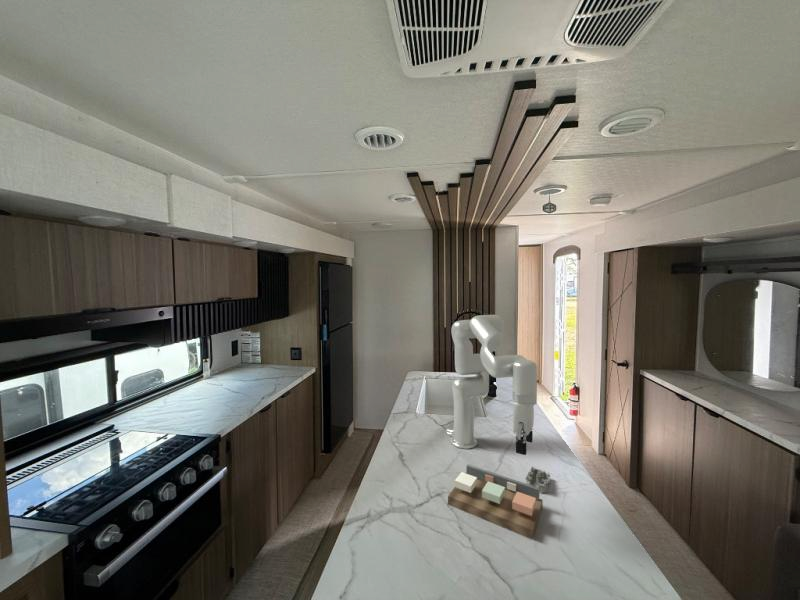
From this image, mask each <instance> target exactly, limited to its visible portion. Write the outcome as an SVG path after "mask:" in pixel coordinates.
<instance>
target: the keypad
mask: <svg viewBox="0 0 800 600" xmlns="http://www.w3.org/2000/svg"><path fill="white" fill-rule="evenodd" d="M465 473H466V474H469V475H471V476H474V477H477V484H476V486H475V487H474V489H473V490H472V492H471V493H469V492H467V491H464V490H462V489H459V488H456V487H455V486H454V487H453V488H452V490H451V491H450V492H449V494H448V496H447V505H449V506H451V507H454V508H457V509H459V510H461V511H463V512H466V513H467V514H471V515H472V516H475V517H478V518H480V519H483V520H485V521H487V522H490V523H491V524H494V525H496V526H499V527H501V528H505V529H506V528H507V530H509V531H512V532H513V531H514V533H516V534H518V535H520V536H523V537H525V536H526V538H528V539H530V540H533V538H534V535H535V532H536V530H537V525H538V524H539V523H538V522H539V520H540V517H541V513H542V509H543V504H544V503H543V499H541V498H540V493H539V490H540V488H538V487H534V486H531V485H532V484H531V485H528V484H527V483H525V482H522V481H519V480H516V479H513V478H510V477H507V476H504V475H501V474H497V473H495V472H492V471H489V470H486V469H484V468H479V467H477V466H474V465H472V464H471V465H470V464H467V465H466V472H465ZM488 481H489V482H491V483H494V484H497V485H500V486H503V487H505V495H504V497H503V499H502V501H501V502H500V504H498V503H496V502H493V501H490V500H488V499H485V498H482V490H483V488H484V487H485V485H486V483H487V482H488ZM516 492H520V493H523V494H526V495H529V496H532V497H534V498H536V506H535V508H534V511H533V514H532V516H530V515H527V514H524V513H522V512H519V511H517V510H514V509H512V501H513V499H514V497H515V495H516Z"/></svg>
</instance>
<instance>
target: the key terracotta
mask: <svg viewBox="0 0 800 600" xmlns="http://www.w3.org/2000/svg"><path fill="white" fill-rule="evenodd" d="M535 506H536V498H534V497H532V496H529V495H526V494H523V493H520V492H516V495H515V497H514V499H513V501H512V509H514V510H517V511H519V512H522V513H524V514H527V515H530V516H532V514H533V511H534V508H535Z"/></svg>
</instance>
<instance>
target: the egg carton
mask: <svg viewBox="0 0 800 600" xmlns="http://www.w3.org/2000/svg"><path fill="white" fill-rule="evenodd" d="M534 477H535V482H536V483H537V484H535V483H533V481H534ZM544 479H545V481H543V480H544ZM525 480H526V484H528V485H531V486H534V487H538V488H540V490H539V494H545V493H547V491H548V487H549V484H550V480H551V475H550V473H549V472H547V473H546V472H545V470H544V471H543V470H542V469H538V468H535V467H534V466H531V468H530V470H529V472H528V473H527V475H526V477H525ZM532 483H533V484H532Z"/></svg>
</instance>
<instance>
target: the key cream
mask: <svg viewBox="0 0 800 600" xmlns="http://www.w3.org/2000/svg"><path fill="white" fill-rule="evenodd" d="M476 484H477V477H474V476H471V475H469V474H466V472H462V471H461V472H460V473H459V474H458V476H457V477H456V478H455V480H454V487H456V488H459V489H462V490H464V491H467V492H469V493H471V492H472V490H473V489H474V487H475V486H476Z"/></svg>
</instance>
